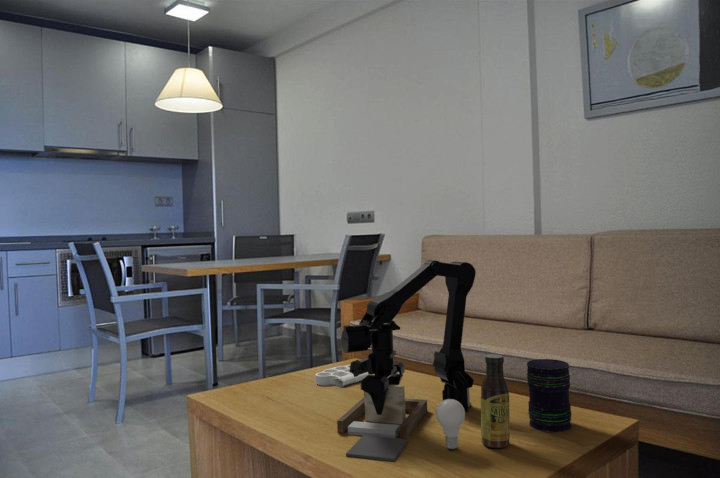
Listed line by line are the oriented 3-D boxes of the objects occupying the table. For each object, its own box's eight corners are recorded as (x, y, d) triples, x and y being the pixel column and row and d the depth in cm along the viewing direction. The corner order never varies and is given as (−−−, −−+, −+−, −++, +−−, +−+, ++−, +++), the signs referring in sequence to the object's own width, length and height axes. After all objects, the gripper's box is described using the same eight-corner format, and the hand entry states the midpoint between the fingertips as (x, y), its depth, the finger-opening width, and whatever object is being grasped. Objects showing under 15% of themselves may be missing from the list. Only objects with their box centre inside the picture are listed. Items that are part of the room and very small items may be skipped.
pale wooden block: (405, 420, 143) (404, 385, 143) (402, 424, 140) (401, 388, 140) (369, 417, 146) (367, 383, 146) (365, 421, 143) (363, 386, 143)
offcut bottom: (400, 435, 134) (400, 430, 134) (395, 441, 131) (395, 436, 131) (354, 431, 139) (353, 426, 139) (348, 437, 135) (347, 432, 135)
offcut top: (400, 430, 135) (399, 425, 135) (395, 435, 131) (395, 430, 131) (353, 426, 139) (353, 421, 139) (347, 431, 135) (347, 426, 135)
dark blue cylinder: (553, 435, 128) (550, 371, 128) (520, 424, 136) (517, 363, 136) (580, 426, 133) (578, 364, 133) (547, 415, 142) (544, 357, 141)
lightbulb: (471, 452, 121) (469, 401, 121) (445, 456, 119) (442, 405, 119) (458, 441, 127) (456, 393, 127) (433, 445, 125) (430, 397, 125)
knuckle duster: (335, 391, 173) (307, 383, 184) (377, 378, 185) (348, 371, 196) (334, 380, 173) (306, 372, 184) (376, 368, 185) (347, 362, 196)
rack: (427, 411, 149) (426, 399, 149) (406, 439, 130) (406, 426, 130) (366, 406, 155) (365, 395, 155) (337, 432, 136) (337, 420, 136)
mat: (408, 441, 128) (407, 439, 128) (394, 461, 118) (394, 458, 118) (363, 437, 132) (363, 435, 132) (346, 456, 122) (345, 453, 122)
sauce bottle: (493, 452, 120) (489, 360, 120) (475, 442, 126) (472, 355, 126) (517, 446, 123) (513, 356, 123) (499, 436, 129) (495, 351, 128)
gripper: (365, 340, 154) (367, 396, 155) (339, 355, 137) (342, 418, 137) (403, 341, 150) (406, 398, 151) (382, 357, 133) (385, 422, 133)
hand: (385, 408), depth 143 cm, fingers open, 9 cm apart
